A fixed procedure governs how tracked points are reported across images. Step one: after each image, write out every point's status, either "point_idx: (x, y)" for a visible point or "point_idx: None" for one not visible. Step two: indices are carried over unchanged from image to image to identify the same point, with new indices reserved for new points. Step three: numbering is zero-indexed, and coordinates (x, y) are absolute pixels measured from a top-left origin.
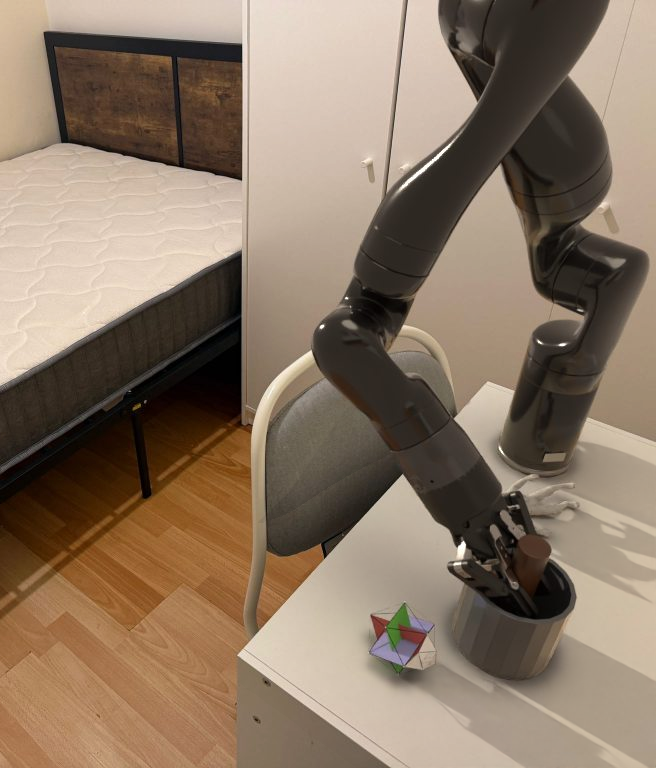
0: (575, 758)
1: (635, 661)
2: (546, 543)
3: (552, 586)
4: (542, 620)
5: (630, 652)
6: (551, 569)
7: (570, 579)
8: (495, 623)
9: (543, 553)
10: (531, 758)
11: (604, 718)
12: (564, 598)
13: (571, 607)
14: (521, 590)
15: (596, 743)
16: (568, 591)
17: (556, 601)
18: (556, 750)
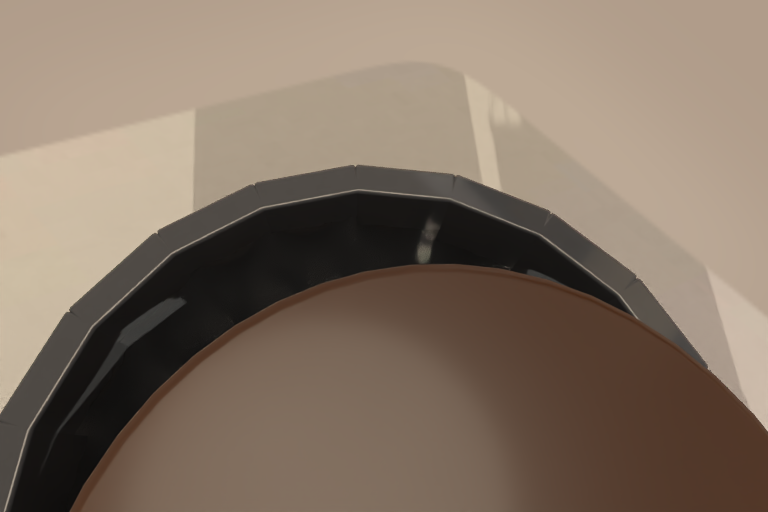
0: (571, 159)
1: (162, 144)
2: (157, 475)
3: (148, 379)
4: (588, 262)
5: (136, 162)
6: (72, 413)
7: (126, 261)
8: None
9: (527, 386)
10: (662, 234)
11: (407, 146)
12: (224, 282)
13: (362, 175)
14: None
15: (492, 138)
16: (217, 249)
17: (205, 338)
18: (590, 199)
